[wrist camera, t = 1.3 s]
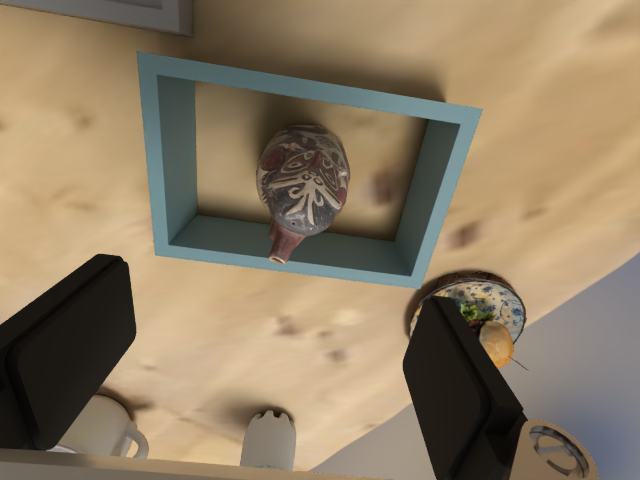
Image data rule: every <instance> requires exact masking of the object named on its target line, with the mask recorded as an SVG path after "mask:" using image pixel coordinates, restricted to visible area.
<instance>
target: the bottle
mask: <svg viewBox="0 0 640 480" xmlns="http://www.w3.org/2000/svg"><path fill="white" fill-rule="evenodd" d="M295 447H296V429H295V425H294V423H293V422H292V421H290V420H289V418H288V416H287V415H286V414H285V413H281V414H280V417H279V418H276V417H274V416H273V411H272V410H268V411H267V412H266V413H265V415H264V416H263V417H262V415H261V414H257V415H255V416H254V417H253V418H252V420H251V422H250V424H249V426H248V428H247V431H246V433H245V437H244V441H243V447H242V454H241V461H240V466H242V467H254V468H266V469H278V470H290V471H292V470H293V463H294V456H295Z"/></svg>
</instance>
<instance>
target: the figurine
mask: <svg viewBox="0 0 640 480" xmlns="http://www.w3.org/2000/svg"><path fill="white" fill-rule="evenodd" d="M349 180H350V168H349V164H348V160H347V157H346V154H345V151H344V148H343V145H342V143H341V141H340V139H339V138H338V137H336V136H334V135H333V134H331V133H330V132H329V131H328V130H327V129H326V128H324V127H323V126H321V125H306V124H305V125H287V126H286V127H284V128H282V129H281V130H280V131H278V132H277V133H276V135H275V136H274V137H273V138H272V139H271V140H270V141H269V143H268V144H267V146H266V147H265V149H264V151H263V153H262V156H261V158H260V160H259V163H258V166H257V171H256V185H257V190H258V194H259V198H260V200H261V201H262V203H263V205H264V207H265V208H266V209H267V210H268V211H269V213H270V214H271V215H272V221H271V226H270V231H269V235H268V236H269V238H271V239H272V240H273V241H274V242H273V245H272V248H271V251H270V253H269V260H270V261H272V262H275V263H278V264H285V263H287V261H288V259H289V257H290V255H291V253H292V250H293V249H294V248H295V247H296V246H297V245H298V244H299V243H300V242H301V241H302V240H303V239H304V238H305V237H306V236H311V235H315V234H318V233H320V232H322V231H324V230H325V229H327V228H328V227H329V226H330V225H331V223H332V222H333V220H334V218H335V217H336V216H337V215H338V214H339V213H340V212H341V210H342V208H343V206H344V204H345V202H346V197H347V189H348V183H349Z"/></svg>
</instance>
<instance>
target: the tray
mask: <svg viewBox="0 0 640 480" xmlns="http://www.w3.org/2000/svg"><path fill="white" fill-rule="evenodd" d="M0 4H1V5H6V6H12V7H18V8H24V9H30V10H36V11H41V12H47V13H53V14H59V15H65V16H71V17H76V18H82V19H88V20H94V21H100V22H105V23H111V24H117V25H123V26H129V27H135V28H140V29H146V30H152V31H158V32H164V33H169V34H175V35H181V36H187V37H193V38H194V33H193V0H0Z"/></svg>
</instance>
